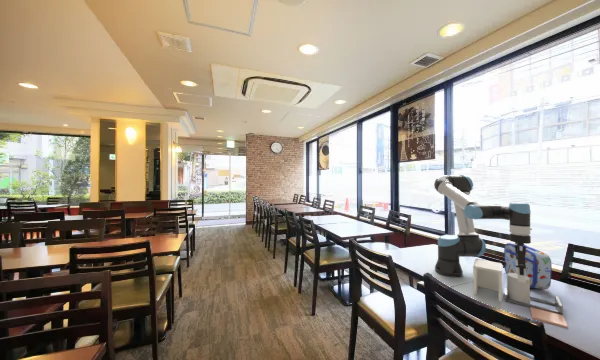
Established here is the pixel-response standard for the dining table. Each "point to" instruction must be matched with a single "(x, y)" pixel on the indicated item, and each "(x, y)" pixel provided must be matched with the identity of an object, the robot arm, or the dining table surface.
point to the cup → (518, 288)
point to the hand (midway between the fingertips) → (520, 277)
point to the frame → (556, 303)
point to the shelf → (487, 276)
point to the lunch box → (530, 265)
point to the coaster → (548, 317)
